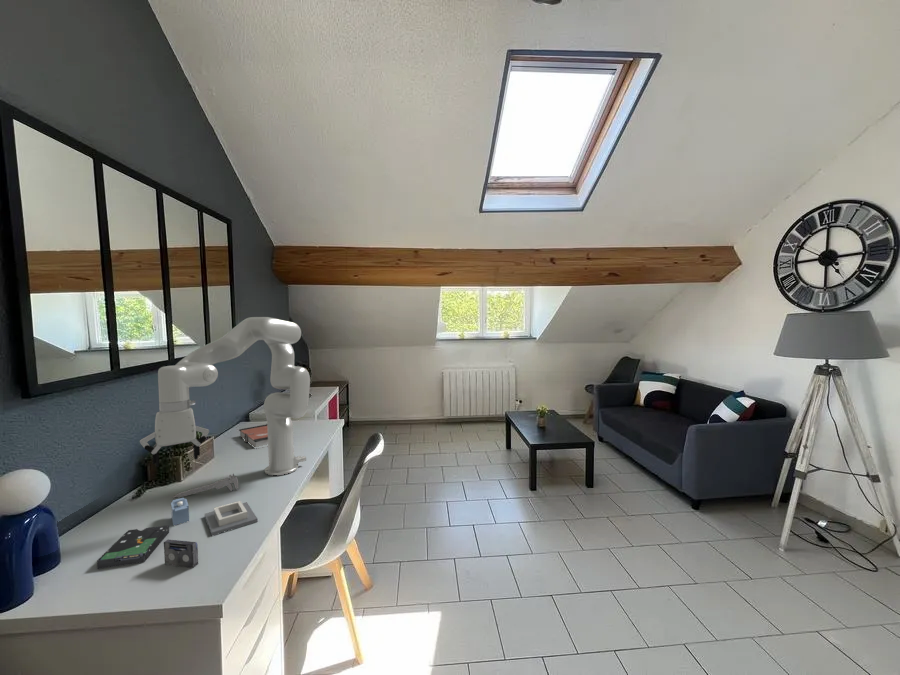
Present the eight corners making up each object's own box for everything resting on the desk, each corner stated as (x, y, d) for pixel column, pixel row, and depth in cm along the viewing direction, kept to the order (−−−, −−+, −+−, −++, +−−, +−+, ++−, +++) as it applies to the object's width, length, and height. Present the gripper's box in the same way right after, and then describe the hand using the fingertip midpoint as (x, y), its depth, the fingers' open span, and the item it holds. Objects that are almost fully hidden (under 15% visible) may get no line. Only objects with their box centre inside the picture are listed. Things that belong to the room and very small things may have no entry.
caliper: (238, 489, 143) (238, 472, 142) (237, 491, 142) (237, 473, 141) (173, 497, 137) (172, 479, 137) (172, 498, 136) (171, 481, 136)
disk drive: (127, 539, 112) (96, 571, 97) (127, 530, 112) (95, 560, 97) (169, 534, 114) (145, 563, 100) (169, 524, 114) (144, 553, 100)
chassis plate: (246, 505, 130) (246, 496, 130) (257, 521, 119) (257, 512, 119) (204, 516, 123) (204, 507, 123) (211, 536, 112) (211, 525, 112)
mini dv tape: (198, 564, 99) (197, 541, 99) (193, 568, 98) (192, 544, 97) (170, 561, 100) (169, 538, 100) (164, 565, 99) (163, 541, 99)
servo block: (186, 512, 126) (185, 494, 126) (189, 523, 119) (188, 504, 119) (171, 516, 123) (170, 497, 123) (173, 528, 116) (172, 508, 116)
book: (237, 438, 205) (237, 428, 205) (272, 431, 217) (272, 422, 217) (253, 450, 186) (253, 439, 186) (290, 442, 198) (290, 432, 197)
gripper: (206, 400, 128) (208, 452, 129) (138, 408, 117) (140, 465, 118) (209, 404, 122) (211, 458, 123) (138, 413, 111) (141, 472, 112)
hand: (177, 461), depth 120 cm, fingers open, 9 cm apart
